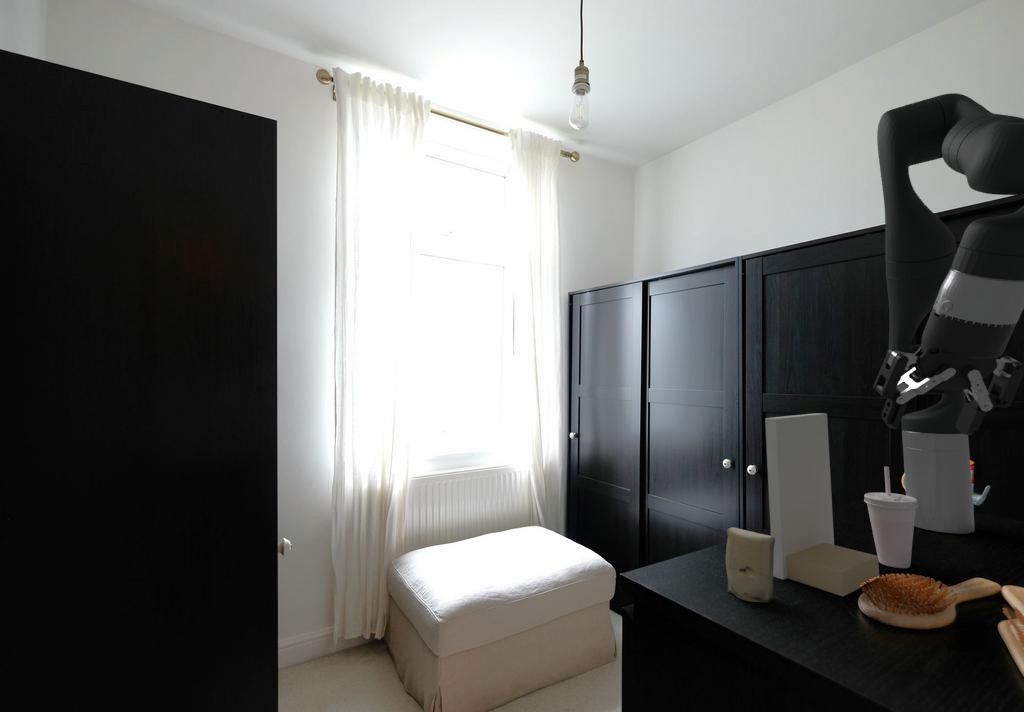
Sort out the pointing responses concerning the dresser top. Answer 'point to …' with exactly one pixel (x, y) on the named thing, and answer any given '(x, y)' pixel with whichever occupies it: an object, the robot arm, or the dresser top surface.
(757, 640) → the dresser top surface
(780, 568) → the wall board
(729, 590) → the cream rounded block
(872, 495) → the smoothie
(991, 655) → the dresser top surface
